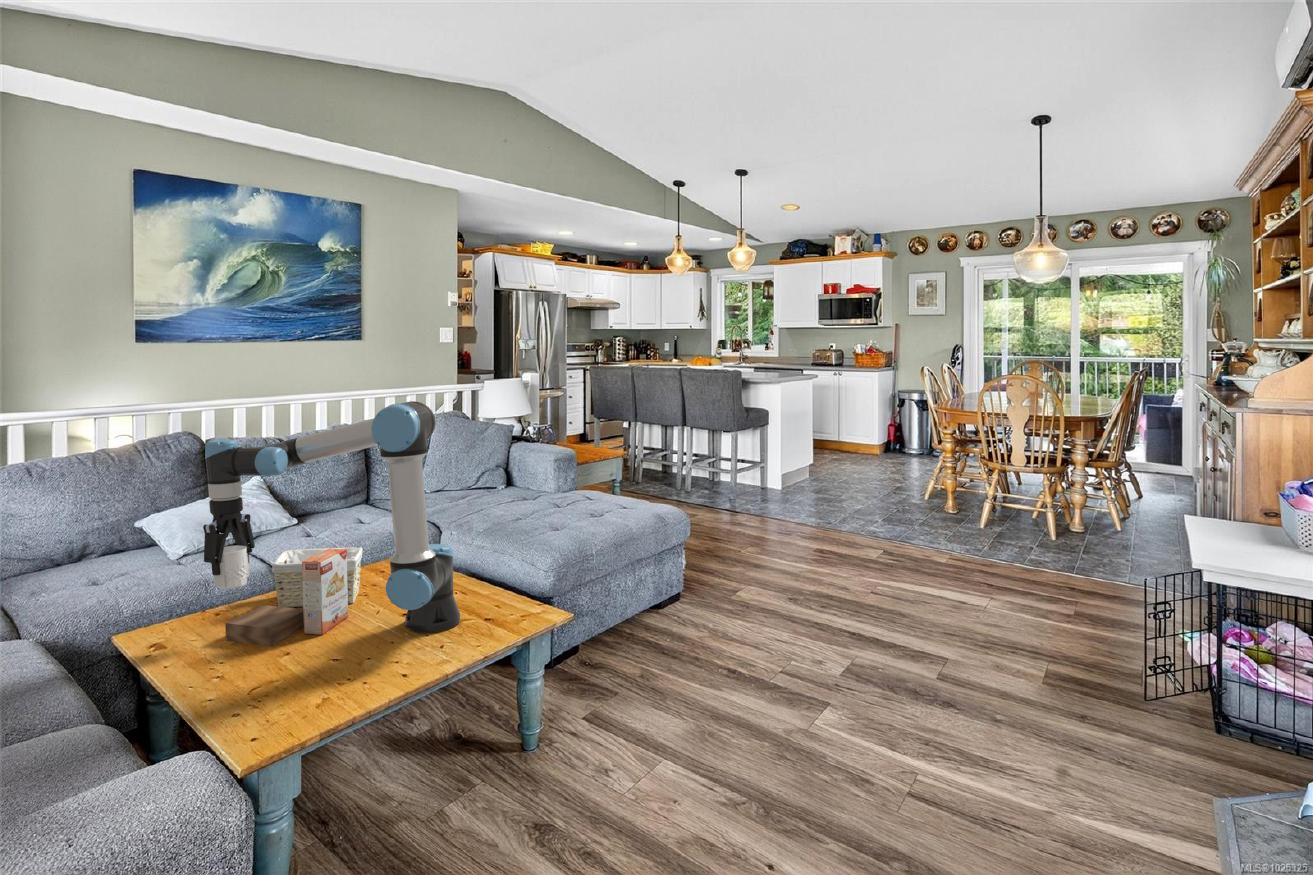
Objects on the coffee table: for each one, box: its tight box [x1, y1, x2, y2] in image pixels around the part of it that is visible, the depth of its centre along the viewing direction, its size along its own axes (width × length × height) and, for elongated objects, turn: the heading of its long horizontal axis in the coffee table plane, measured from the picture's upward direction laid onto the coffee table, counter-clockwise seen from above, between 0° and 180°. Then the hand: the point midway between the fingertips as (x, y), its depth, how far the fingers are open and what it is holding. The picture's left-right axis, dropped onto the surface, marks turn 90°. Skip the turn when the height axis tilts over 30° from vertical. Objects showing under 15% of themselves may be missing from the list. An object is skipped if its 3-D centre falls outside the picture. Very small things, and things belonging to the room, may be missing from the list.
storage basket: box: [271, 547, 364, 608], centre depth 224 cm, size 24×16×15 cm
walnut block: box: [224, 604, 304, 647], centre depth 197 cm, size 14×14×5 cm
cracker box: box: [302, 547, 349, 636], centre depth 202 cm, size 14×6×21 cm, turn 175°
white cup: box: [216, 544, 248, 590], centre depth 191 cm, size 8×8×10 cm
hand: (232, 581), depth 192 cm, fingers closed on white cup, 8 cm apart
